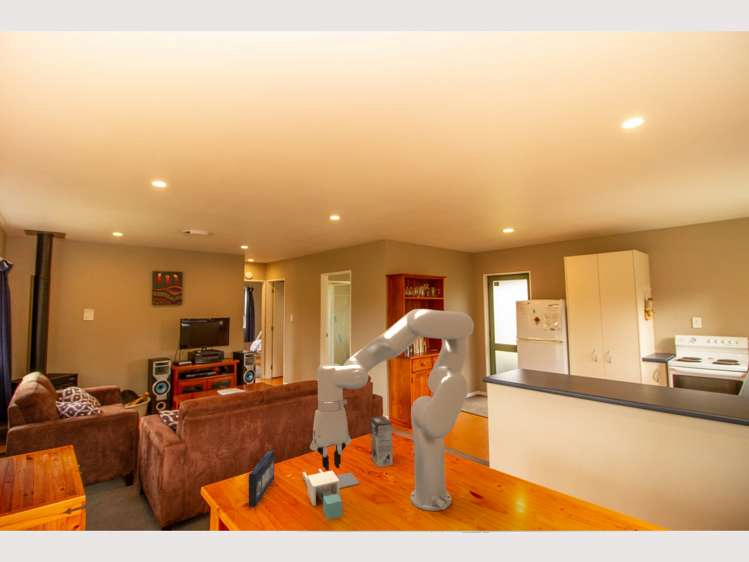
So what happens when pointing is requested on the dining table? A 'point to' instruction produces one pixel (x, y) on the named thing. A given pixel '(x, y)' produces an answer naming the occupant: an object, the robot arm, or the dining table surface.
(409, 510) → the dining table surface
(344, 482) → the mat
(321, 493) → the rod
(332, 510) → the block
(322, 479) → the white box
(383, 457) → the coffee box
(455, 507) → the dining table surface
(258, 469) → the vhs cassette tape
